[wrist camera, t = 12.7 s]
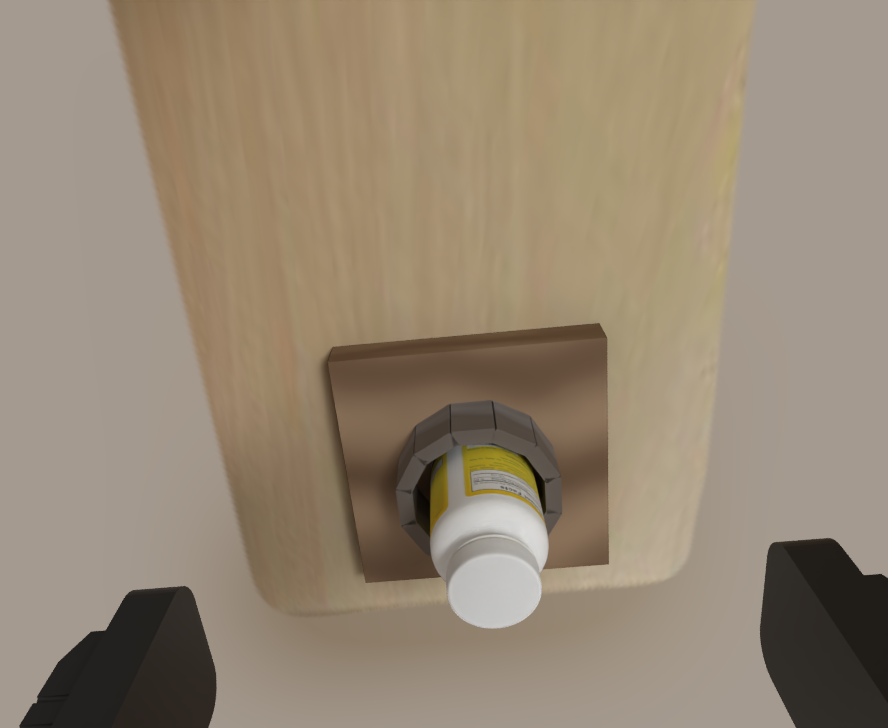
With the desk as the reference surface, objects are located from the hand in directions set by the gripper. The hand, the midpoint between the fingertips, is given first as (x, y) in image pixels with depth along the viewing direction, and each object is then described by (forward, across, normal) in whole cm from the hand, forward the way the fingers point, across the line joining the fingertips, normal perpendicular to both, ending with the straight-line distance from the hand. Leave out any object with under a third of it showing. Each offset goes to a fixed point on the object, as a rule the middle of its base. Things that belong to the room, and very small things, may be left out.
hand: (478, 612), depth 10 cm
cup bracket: (+28, 0, +14) cm, 31 cm away
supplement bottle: (+26, 0, +14) cm, 30 cm away
